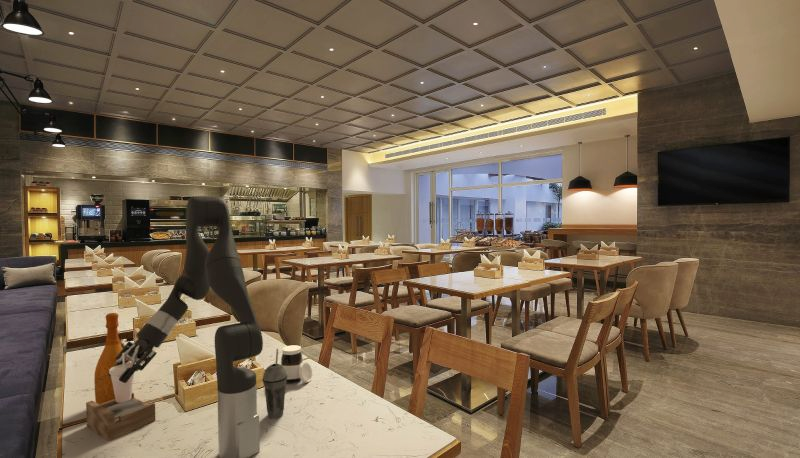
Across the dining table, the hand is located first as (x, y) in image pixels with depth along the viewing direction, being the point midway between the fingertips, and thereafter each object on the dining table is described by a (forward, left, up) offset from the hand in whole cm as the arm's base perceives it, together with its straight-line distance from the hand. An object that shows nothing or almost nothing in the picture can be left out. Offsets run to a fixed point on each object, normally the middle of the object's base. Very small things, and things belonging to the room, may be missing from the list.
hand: (116, 378), depth 113 cm
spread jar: (-21, -50, -14) cm, 56 cm away
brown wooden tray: (0, -1, -14) cm, 14 cm away
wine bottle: (+15, -5, -14) cm, 21 cm away
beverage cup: (-35, -28, -14) cm, 47 cm away
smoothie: (0, -2, -7) cm, 7 cm away
